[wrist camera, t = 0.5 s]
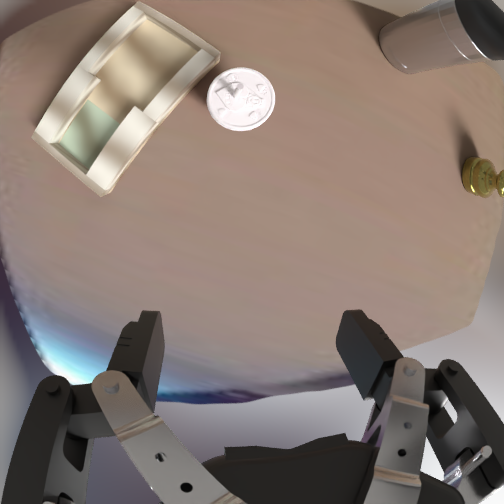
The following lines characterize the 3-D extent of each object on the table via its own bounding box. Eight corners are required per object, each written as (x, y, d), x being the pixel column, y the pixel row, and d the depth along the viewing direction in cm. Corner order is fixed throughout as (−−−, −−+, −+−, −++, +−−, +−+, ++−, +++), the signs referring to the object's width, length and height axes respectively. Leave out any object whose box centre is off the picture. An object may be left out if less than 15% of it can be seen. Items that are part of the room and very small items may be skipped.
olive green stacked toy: (484, 179, 40) (520, 190, 31) (467, 200, 41) (504, 214, 32) (473, 148, 37) (512, 156, 28) (456, 169, 38) (496, 179, 29)
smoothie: (214, 83, 30) (216, 45, 17) (264, 94, 31) (295, 64, 18) (202, 130, 32) (196, 117, 19) (252, 140, 33) (278, 135, 20)
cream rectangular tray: (144, 12, 24) (138, 0, 21) (219, 61, 29) (220, 52, 25) (45, 137, 28) (31, 137, 25) (110, 192, 33) (100, 197, 29)
